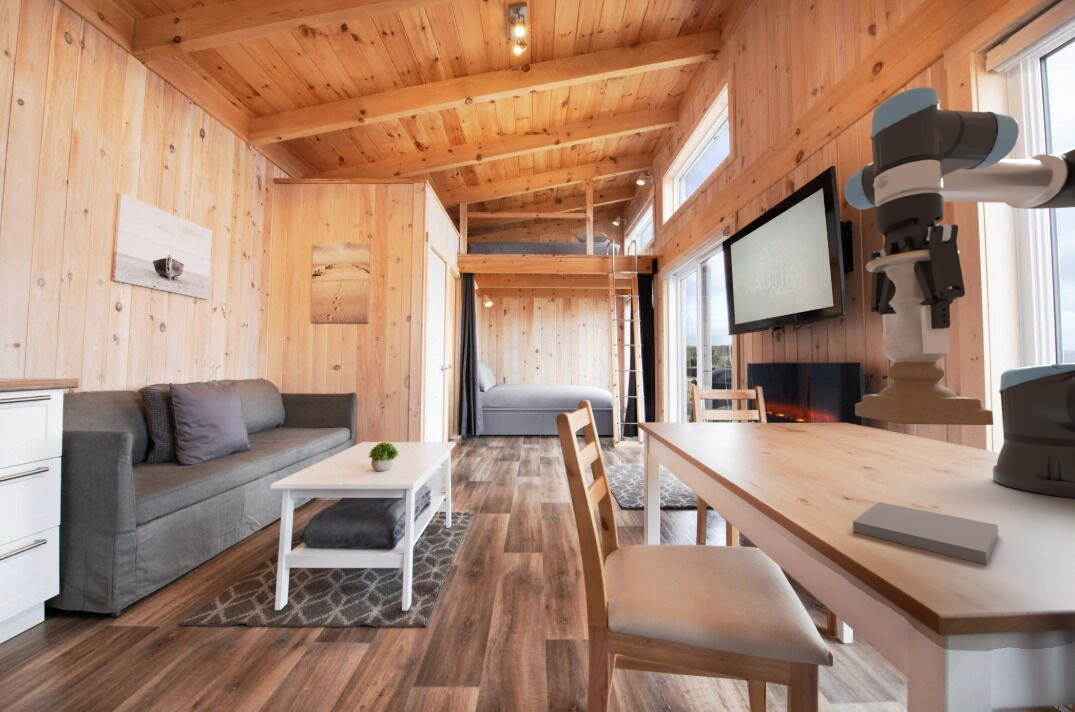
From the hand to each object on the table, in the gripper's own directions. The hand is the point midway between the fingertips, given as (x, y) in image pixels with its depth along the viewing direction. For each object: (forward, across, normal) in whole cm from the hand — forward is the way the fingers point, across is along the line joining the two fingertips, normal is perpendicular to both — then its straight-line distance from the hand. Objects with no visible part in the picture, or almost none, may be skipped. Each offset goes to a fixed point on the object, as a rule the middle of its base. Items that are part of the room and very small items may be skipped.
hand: (914, 354), depth 60 cm
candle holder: (+10, 0, 0) cm, 10 cm away
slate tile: (+26, +1, -1) cm, 26 cm away
